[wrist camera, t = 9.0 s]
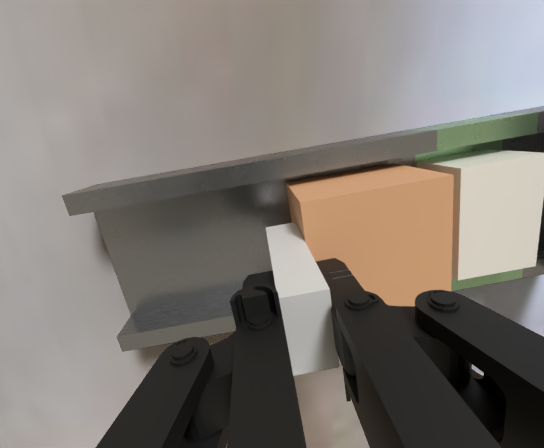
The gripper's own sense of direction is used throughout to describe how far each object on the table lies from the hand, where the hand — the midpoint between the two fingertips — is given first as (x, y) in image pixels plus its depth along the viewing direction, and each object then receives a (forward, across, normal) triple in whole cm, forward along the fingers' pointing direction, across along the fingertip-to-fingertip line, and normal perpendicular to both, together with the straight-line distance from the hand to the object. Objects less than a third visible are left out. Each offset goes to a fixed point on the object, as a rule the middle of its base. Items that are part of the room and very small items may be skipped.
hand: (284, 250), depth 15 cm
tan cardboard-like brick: (+2, +4, 0) cm, 4 cm away
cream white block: (+3, +10, 0) cm, 11 cm away
